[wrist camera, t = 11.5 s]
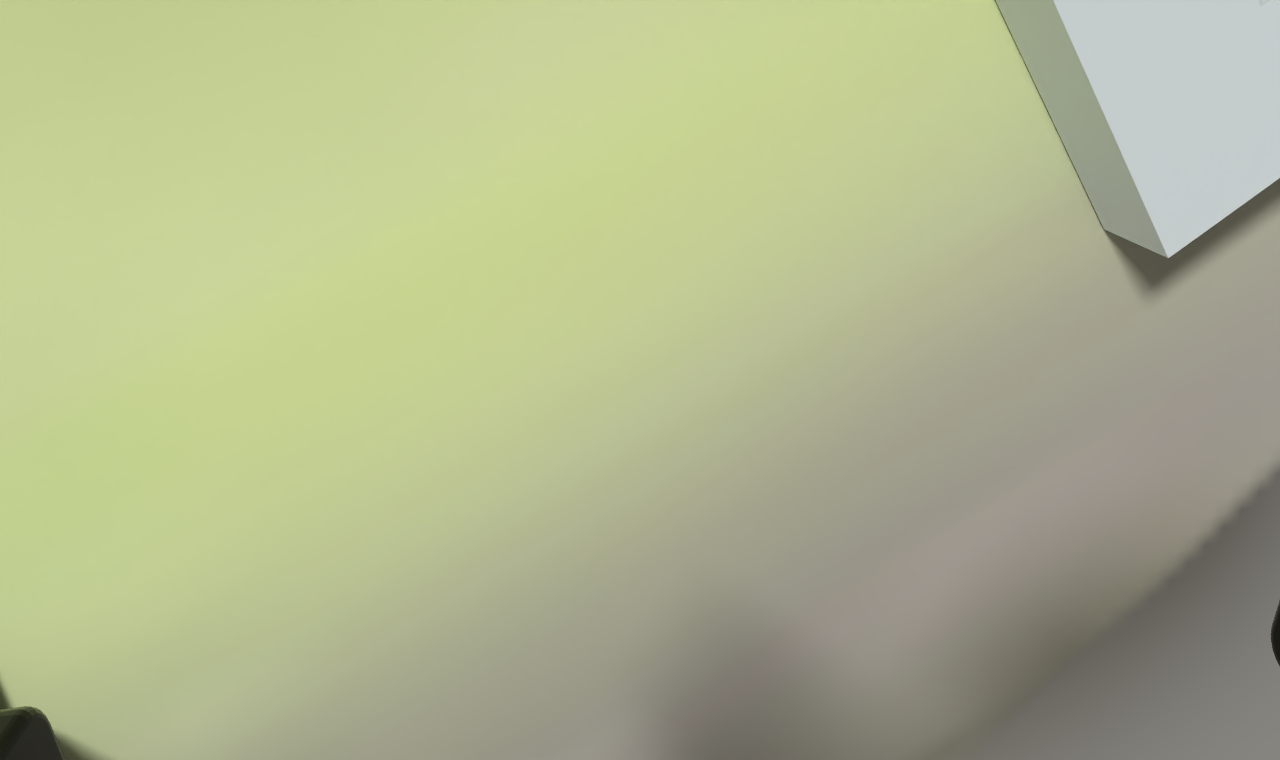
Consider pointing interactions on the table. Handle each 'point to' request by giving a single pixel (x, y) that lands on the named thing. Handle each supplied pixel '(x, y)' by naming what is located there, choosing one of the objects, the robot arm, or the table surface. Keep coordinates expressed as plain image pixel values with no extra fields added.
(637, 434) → the table surface
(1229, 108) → the dock
